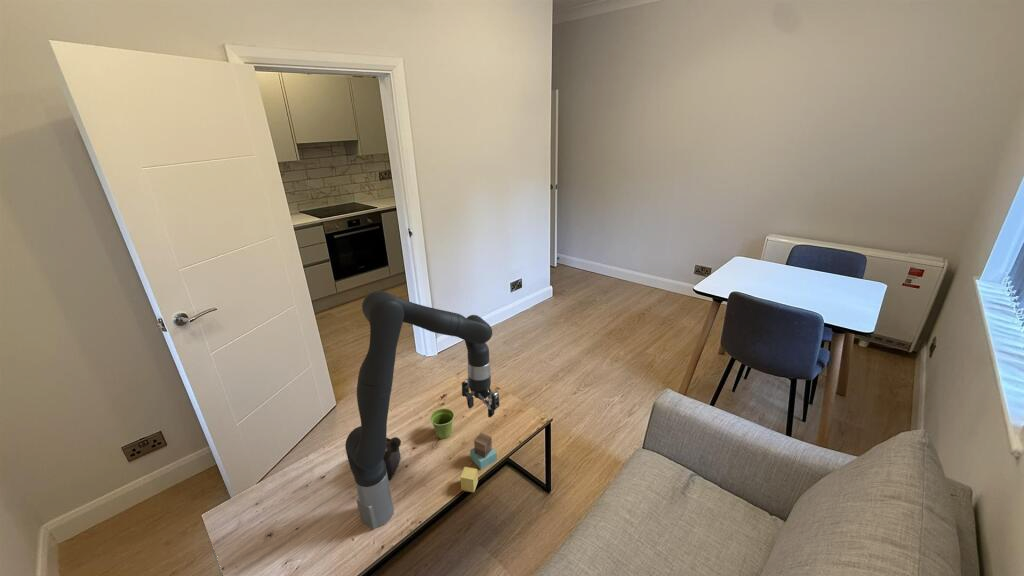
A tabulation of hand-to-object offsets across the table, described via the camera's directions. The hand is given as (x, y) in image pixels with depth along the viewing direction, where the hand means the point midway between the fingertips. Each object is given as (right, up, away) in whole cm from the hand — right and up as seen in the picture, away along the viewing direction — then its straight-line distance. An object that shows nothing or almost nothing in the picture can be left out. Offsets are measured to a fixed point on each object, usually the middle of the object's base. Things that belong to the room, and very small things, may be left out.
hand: (480, 411), depth 142 cm
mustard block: (-4, -25, -2) cm, 25 cm away
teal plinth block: (0, -21, +9) cm, 22 cm away
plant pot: (-16, -15, +21) cm, 31 cm away
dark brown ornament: (-34, -22, +5) cm, 41 cm away
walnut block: (0, -17, +7) cm, 18 cm away
